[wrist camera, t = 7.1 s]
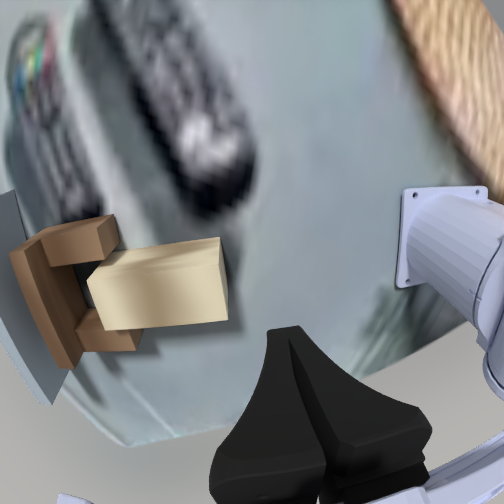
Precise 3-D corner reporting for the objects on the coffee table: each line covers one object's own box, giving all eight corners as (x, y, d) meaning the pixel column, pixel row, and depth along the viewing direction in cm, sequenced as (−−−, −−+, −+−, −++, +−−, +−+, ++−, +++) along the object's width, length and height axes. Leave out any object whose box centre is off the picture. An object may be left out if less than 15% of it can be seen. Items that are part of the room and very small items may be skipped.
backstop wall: (13, 189, 17) (-37, 211, 12) (75, 359, 23) (52, 405, 18) (2, 193, 17) (-48, 216, 12) (63, 359, 23) (39, 403, 18)
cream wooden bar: (220, 236, 20) (218, 264, 16) (227, 283, 22) (228, 319, 18) (110, 251, 20) (86, 280, 16) (123, 295, 22) (105, 330, 17)
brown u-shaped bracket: (113, 214, 19) (82, 239, 14) (144, 326, 22) (129, 369, 18) (45, 227, 19) (8, 253, 14) (81, 329, 22) (59, 368, 17)
